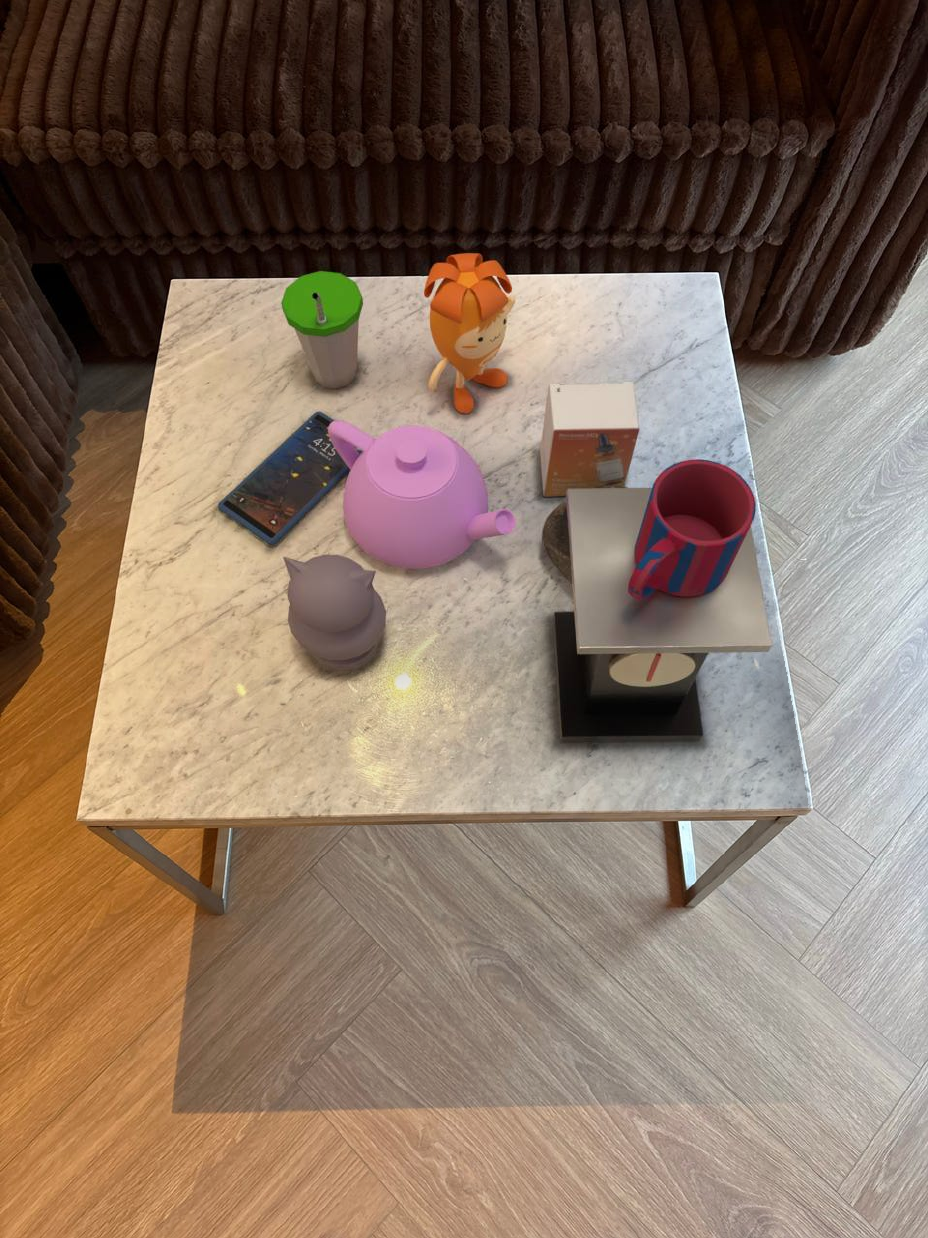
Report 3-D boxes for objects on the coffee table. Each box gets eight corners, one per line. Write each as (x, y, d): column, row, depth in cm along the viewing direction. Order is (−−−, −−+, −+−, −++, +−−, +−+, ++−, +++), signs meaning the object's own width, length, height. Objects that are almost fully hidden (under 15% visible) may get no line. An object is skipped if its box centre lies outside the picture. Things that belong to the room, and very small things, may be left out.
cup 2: (749, 559, 66) (777, 504, 60) (651, 644, 63) (670, 595, 57) (679, 500, 69) (699, 441, 63) (581, 579, 66) (592, 526, 60)
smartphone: (214, 504, 92) (317, 408, 97) (216, 509, 92) (318, 413, 98) (272, 545, 90) (374, 444, 95) (273, 549, 90) (374, 449, 96)
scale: (688, 613, 87) (744, 486, 69) (706, 747, 81) (772, 646, 63) (547, 614, 87) (567, 488, 69) (554, 748, 81) (578, 648, 63)
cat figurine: (287, 671, 85) (260, 609, 74) (308, 595, 88) (286, 525, 77) (380, 686, 84) (367, 625, 73) (398, 609, 87) (388, 540, 77)
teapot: (472, 622, 87) (472, 563, 77) (298, 523, 92) (279, 456, 82) (548, 516, 92) (557, 449, 83) (380, 428, 97) (371, 355, 88)
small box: (542, 498, 93) (550, 430, 84) (539, 452, 96) (546, 381, 86) (623, 496, 93) (641, 428, 84) (618, 451, 96) (634, 379, 86)
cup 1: (322, 336, 103) (300, 221, 90) (385, 360, 101) (372, 247, 88) (284, 385, 100) (255, 274, 86) (348, 411, 98) (329, 302, 85)
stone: (685, 572, 89) (696, 544, 85) (595, 630, 86) (602, 604, 82) (610, 491, 93) (617, 460, 89) (522, 543, 91) (525, 514, 86)
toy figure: (453, 436, 97) (450, 328, 83) (401, 393, 99) (390, 282, 86) (534, 374, 100) (543, 261, 87) (481, 334, 103) (483, 219, 90)
